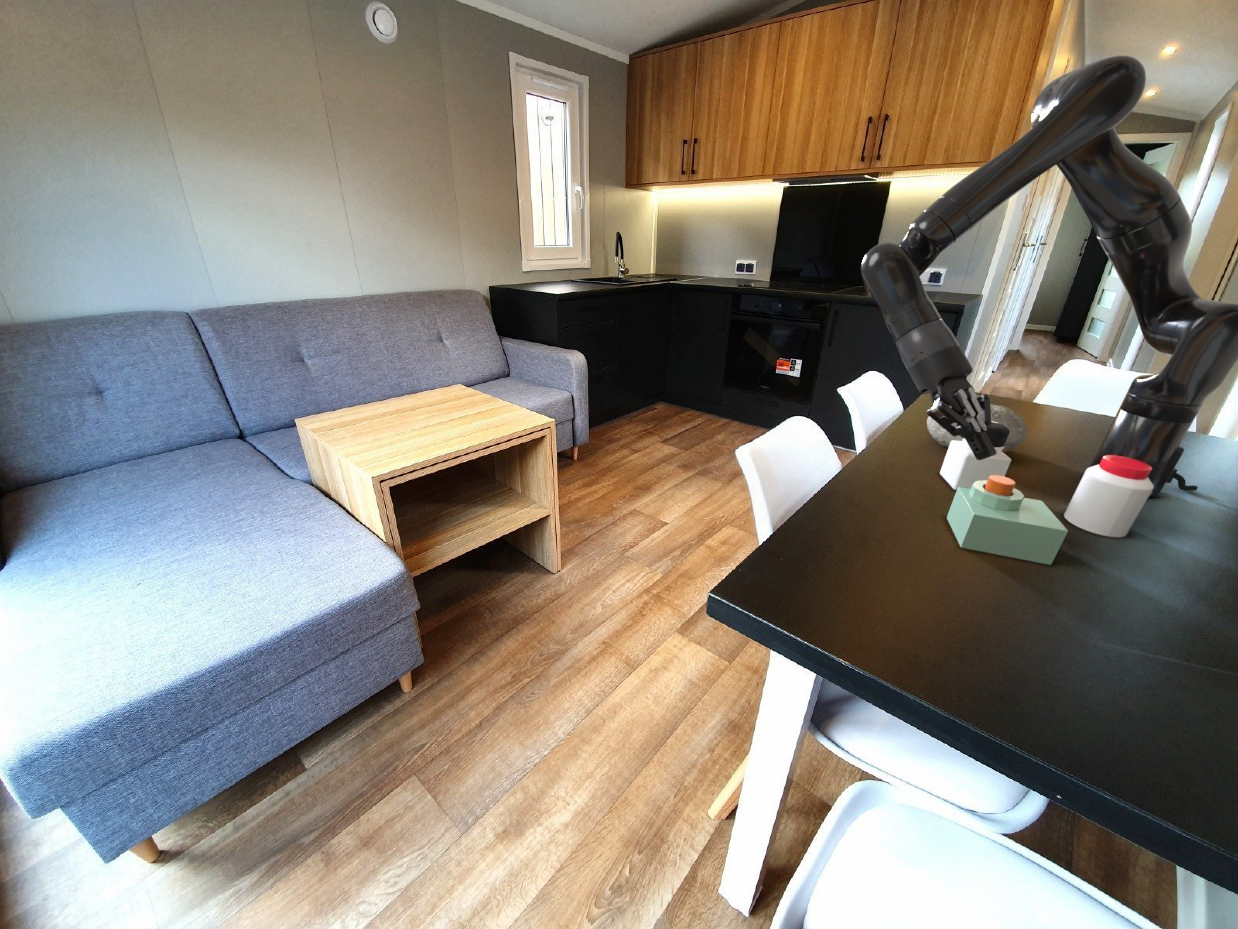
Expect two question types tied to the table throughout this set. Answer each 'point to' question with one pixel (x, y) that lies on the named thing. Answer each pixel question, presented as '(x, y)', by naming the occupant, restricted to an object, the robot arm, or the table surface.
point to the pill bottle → (1110, 496)
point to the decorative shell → (997, 415)
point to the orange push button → (1000, 485)
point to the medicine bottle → (975, 460)
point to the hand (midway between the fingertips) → (987, 457)
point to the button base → (1005, 524)
